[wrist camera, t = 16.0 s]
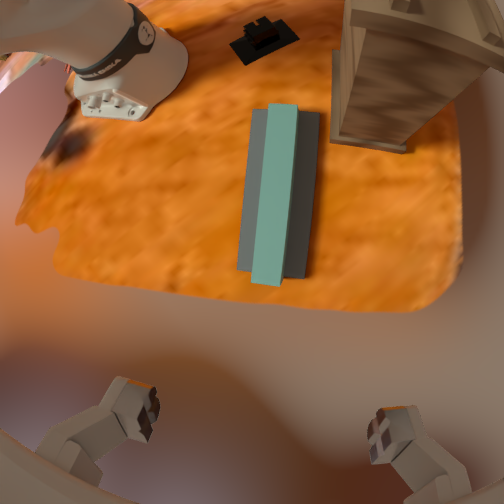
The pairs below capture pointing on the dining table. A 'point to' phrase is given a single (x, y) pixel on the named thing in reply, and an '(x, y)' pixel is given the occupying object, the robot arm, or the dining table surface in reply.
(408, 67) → the walnut stand
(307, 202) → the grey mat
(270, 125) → the teal square bar
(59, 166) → the dining table surface
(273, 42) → the black block on plate
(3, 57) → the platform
